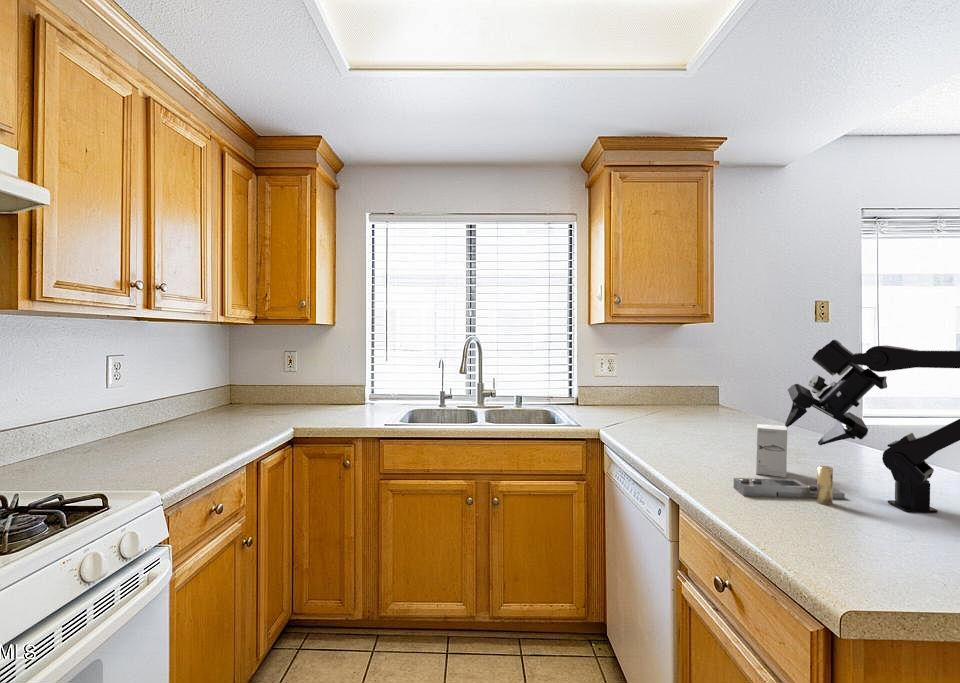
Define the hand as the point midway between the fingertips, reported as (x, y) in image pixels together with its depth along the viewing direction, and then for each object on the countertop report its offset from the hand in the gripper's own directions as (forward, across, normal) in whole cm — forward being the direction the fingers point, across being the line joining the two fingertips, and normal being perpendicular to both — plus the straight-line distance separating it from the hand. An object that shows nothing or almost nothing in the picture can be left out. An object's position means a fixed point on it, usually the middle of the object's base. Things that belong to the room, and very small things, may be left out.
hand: (802, 434), depth 138 cm
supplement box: (+17, -5, -6) cm, 18 cm away
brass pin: (+5, -4, +17) cm, 18 cm away
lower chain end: (+8, -4, +11) cm, 14 cm away
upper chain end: (+12, +3, +12) cm, 17 cm away
